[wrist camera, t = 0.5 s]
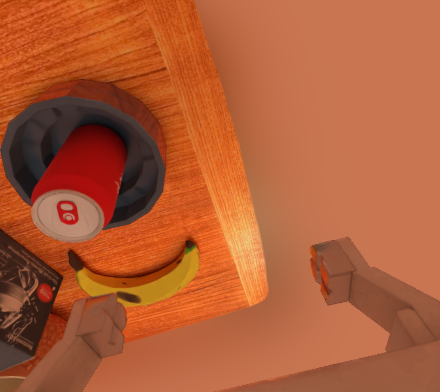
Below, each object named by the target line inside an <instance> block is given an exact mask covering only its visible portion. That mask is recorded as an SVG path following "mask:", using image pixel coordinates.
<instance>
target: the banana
mask: <svg viewBox="0 0 440 392" xmlns="http://www.w3.org/2000/svg"><path fill="white" fill-rule="evenodd" d="M68 255H69V263H70V265H71V266H72V267H73V268H74V269H75V270H76V280H77V282H78V284H79V285H80V287H81V289H83V290H84V291H85V292H86V293H87V294H88V295H90V296H91V297H93V296H98V295H103V294H108V293H113V292H114V293H115V294H116V295H117V297H118V299H117V302H120V303H122V304H123V306H124V307H129V306H142V305H149V304H152V303H155V302H158V301H161V300H164V299H167V298H170V297H171V296H173V295H174V294H176V293H177V292H179V291H180V290H182V289H183V288H184V287H186V286H187V285H188V284H189V282H190V281H191V280H192V279H193V278H194V277H195V276H196V273H197V271H198V268H199V251H198V249H197V247H196V246H195V244H194V243H193V242H192V241H190V240H187V241H186V247H185V249H184V252H183V253H182V255H181V256H180V257H179V259H177V260H176V261H175V262H173V263H172V264H171V265H169V266H167V267H165V268H163V269H161V270H160V271H158V272H155V273H152V274H149V275H146V276H143V277H135V278H114V277H106V276H101V275H97V274H94V273H93V272H91V271H89V270H88V269H86V268H85V267H84V266H83V264H82V263H81V262H80V260H79V259H78V258H77V257H76V255H75V254H74V253H73V252H72V251H69V253H68Z"/></svg>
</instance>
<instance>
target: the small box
mask: <svg viewBox="0 0 440 392" xmlns="http://www.w3.org/2000/svg"><path fill="white" fill-rule="evenodd" d="M62 279H63V277H62V276H61V275H59V274H58V273H57V272H55V271H54V270H53V269H51V268H50V267H49V266H48V265H46V264H45V263H44V262H42V261H41V260H40V259H38V258H37V257H36V256H34V255H33V254H32V253H30V252H29V251H28V250H26V249H25V248H24V247H22V246H21V245H20V244H18V243H17V242H16V241H14V240H13V239H12V238H11V237H9V236H8V235H7V234H5V233H4V232H3V231H1V230H0V372H2V371H4V370H6V369H9V368H11V367H14V366H16V365H18V364H21V363H23V362H25V361H28V360H30V359H32V358H34V356H35V353H36V350H37V347H38V345H39V342H40V339H41V337H42V334H43V331H44V328H45V325H46V323H47V320H48V317H49V314H50V312H51V309H52V306H53V303H54V301H55V298H56V295H57V293H58V290H59V287H60V285H61V282H62Z"/></svg>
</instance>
